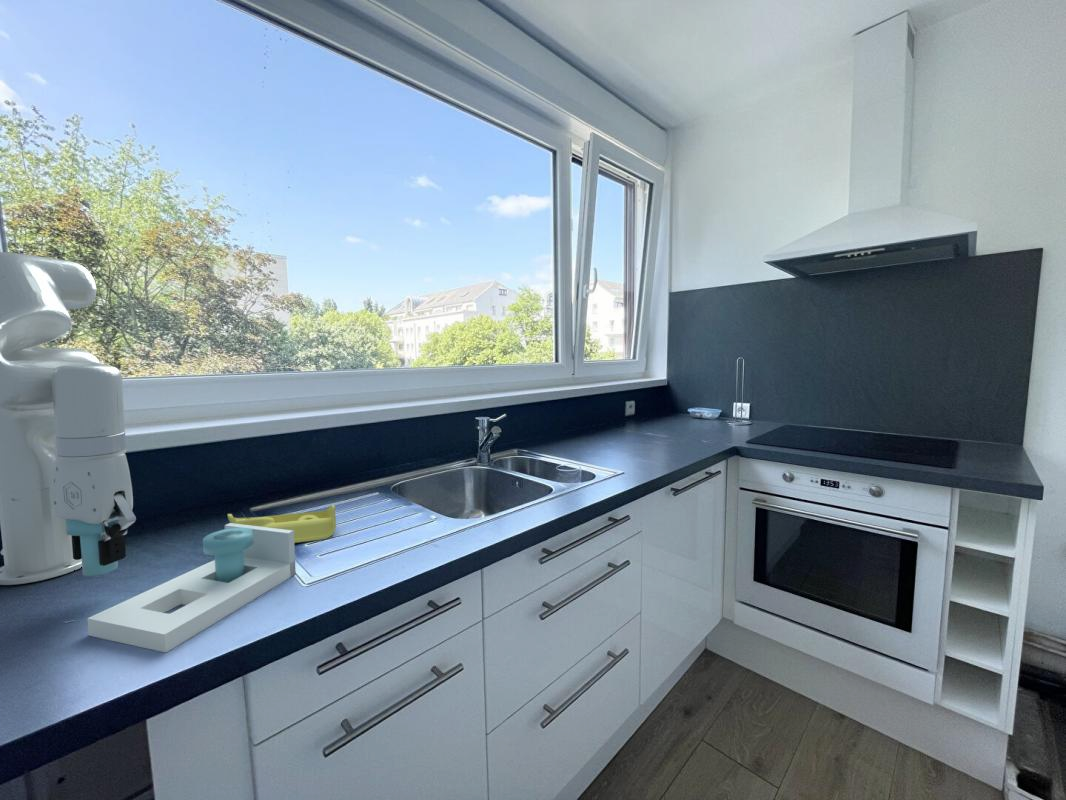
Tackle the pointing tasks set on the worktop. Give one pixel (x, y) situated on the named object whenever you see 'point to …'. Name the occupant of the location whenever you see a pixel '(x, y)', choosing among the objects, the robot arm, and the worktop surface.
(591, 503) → the worktop surface
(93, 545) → the teal round plug
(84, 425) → the robot arm
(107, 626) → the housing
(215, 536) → the teal flanged peg
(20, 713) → the worktop surface
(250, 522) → the plastic component
